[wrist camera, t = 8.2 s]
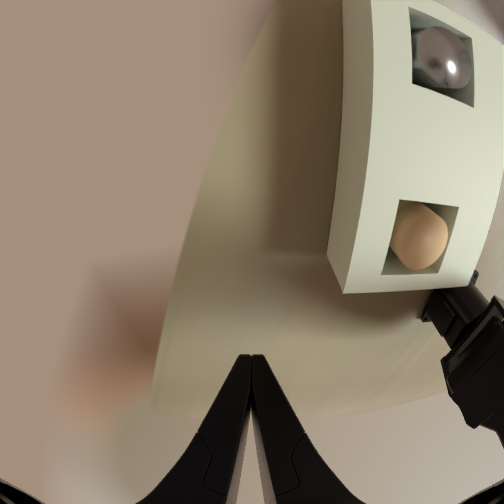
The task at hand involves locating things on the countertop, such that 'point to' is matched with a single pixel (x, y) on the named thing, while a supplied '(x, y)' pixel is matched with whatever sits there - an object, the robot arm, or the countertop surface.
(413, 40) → the steel peg
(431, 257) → the oak peg
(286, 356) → the countertop surface
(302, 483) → the robot arm
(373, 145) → the socket block
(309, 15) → the countertop surface
